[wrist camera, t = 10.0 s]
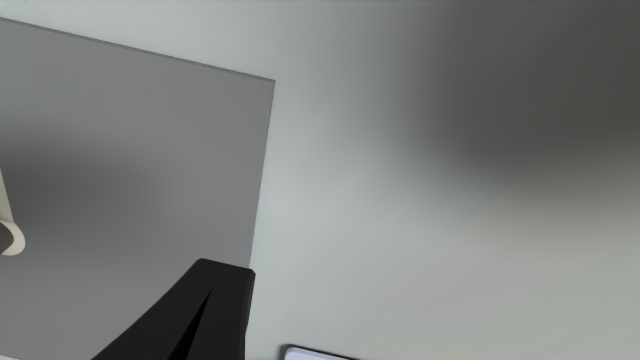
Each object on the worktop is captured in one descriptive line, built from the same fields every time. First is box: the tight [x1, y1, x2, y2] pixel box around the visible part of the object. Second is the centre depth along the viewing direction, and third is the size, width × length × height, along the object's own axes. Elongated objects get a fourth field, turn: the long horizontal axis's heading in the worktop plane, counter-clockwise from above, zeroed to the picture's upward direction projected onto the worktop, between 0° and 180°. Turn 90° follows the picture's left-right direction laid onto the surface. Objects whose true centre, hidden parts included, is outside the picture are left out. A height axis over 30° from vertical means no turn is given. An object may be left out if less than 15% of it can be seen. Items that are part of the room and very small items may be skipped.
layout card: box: [0, 17, 275, 360], centre depth 23 cm, size 25×27×1 cm
